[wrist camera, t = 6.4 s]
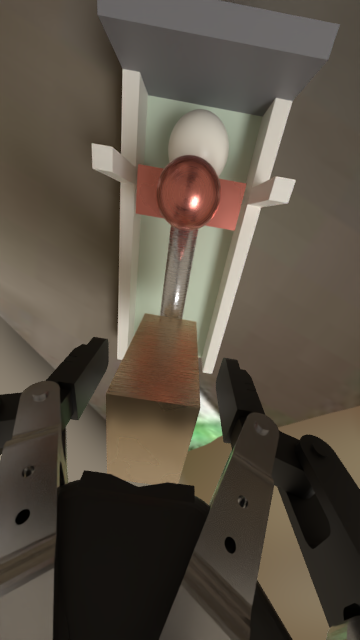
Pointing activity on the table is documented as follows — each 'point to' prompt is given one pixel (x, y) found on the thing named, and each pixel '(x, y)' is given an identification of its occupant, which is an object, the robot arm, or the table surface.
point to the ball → (200, 138)
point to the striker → (166, 329)
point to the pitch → (238, 118)
